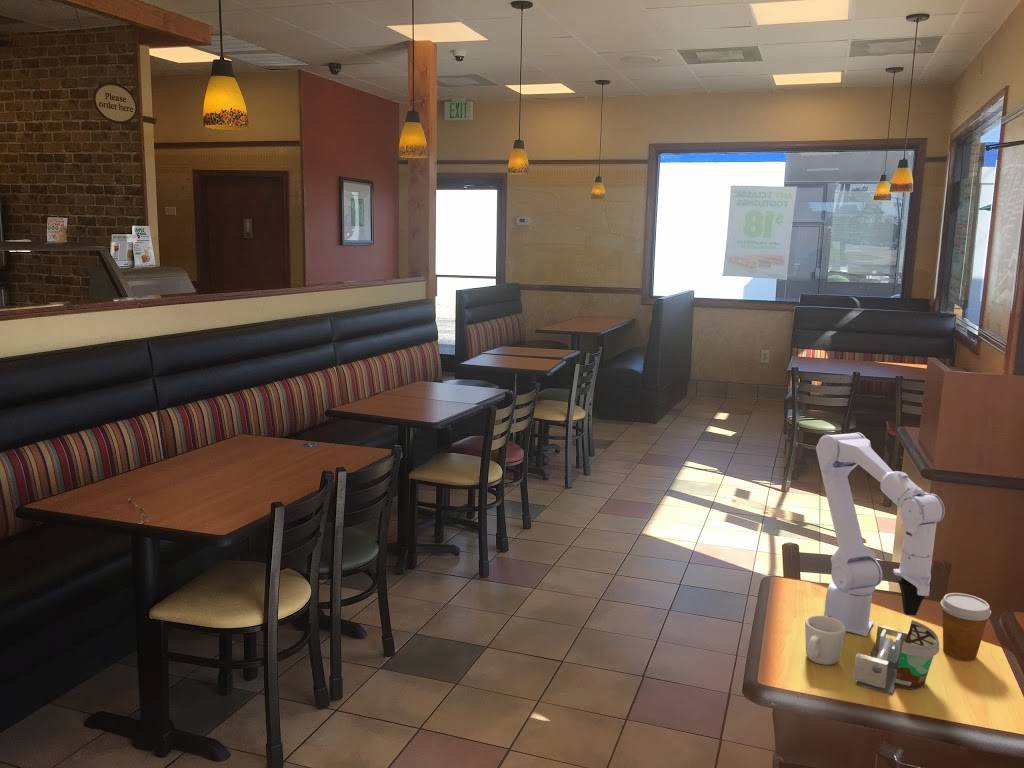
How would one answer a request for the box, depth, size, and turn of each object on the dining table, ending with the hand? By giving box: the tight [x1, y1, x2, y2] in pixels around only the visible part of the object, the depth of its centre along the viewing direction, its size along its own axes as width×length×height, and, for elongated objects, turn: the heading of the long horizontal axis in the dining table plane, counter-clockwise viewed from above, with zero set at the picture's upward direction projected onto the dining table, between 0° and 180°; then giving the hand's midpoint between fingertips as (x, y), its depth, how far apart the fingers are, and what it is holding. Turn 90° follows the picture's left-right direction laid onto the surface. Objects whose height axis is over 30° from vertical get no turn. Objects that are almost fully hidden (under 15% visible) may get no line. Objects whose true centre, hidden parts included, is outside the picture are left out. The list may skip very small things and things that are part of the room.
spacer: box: [875, 623, 909, 656], centre depth 181 cm, size 6×1×5 cm, turn 57°
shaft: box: [852, 637, 895, 688], centre depth 173 cm, size 6×13×5 cm, turn 147°
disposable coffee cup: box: [940, 592, 992, 662], centre depth 181 cm, size 10×10×12 cm
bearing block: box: [878, 629, 902, 663], centre depth 179 cm, size 4×4×6 cm
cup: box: [804, 615, 847, 666], centre depth 177 cm, size 11×8×8 cm
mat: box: [855, 642, 900, 696], centre depth 176 cm, size 7×21×1 cm, turn 147°
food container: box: [894, 619, 940, 690], centre depth 170 cm, size 12×6×10 cm, turn 148°
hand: (909, 613), depth 177 cm, fingers closed
